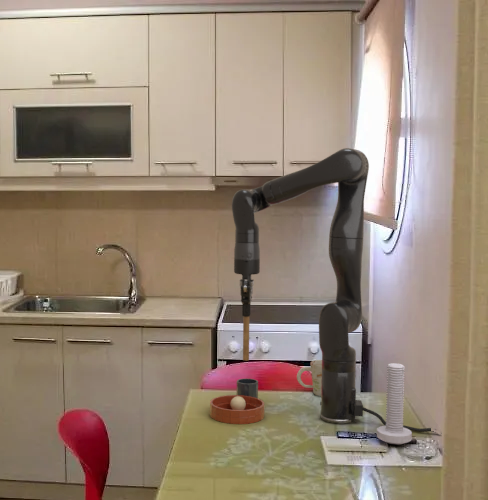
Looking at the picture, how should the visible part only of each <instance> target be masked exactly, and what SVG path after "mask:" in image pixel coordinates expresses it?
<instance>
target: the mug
mask: <svg viewBox="0 0 488 500" xmlns="http://www.w3.org/2000/svg"><path fill="white" fill-rule="evenodd" d="M304 372H310V373H311V382H312V384H305V383H304V382H303V380H302V374H303V373H304ZM296 380H297V382H298V384H299V385H301V387H303V388H306V389H312V392H313V395H315V396H317V397H321V385H322V359H315V360H312V361H310V366H302V367H301V368H300V369H299V370H298V371H297V373H296Z"/></svg>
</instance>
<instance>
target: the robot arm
mask: <svg viewBox="0 0 488 500" xmlns="http://www.w3.org/2000/svg"><path fill="white" fill-rule="evenodd" d="M369 168H370V164H369V159H368V157H367V156H366V154H365V153H364V152H363V151H361V150H359V149H357V148H356V149H355V148H352V147H344V148H341V149H339V150H337V151H336V152H334V153H332V154H330V155H328V156H327V157H325V158H324V159H321V160H320V161H318V162H316V163H313V164H311V165H309V166H307V167H305V168H302V169H299V170H297V171H293V172H291V173H288V174H285V175H282V176H279V177H277V178H273V179H271V180H268V181H266V182H265V183H263V185H261V186H258V187H255V188H251V189H240V190H237V191H236V192H235V193H234V194H233V196H232V201H231V212H232V218H233V224H234V227H235V231H234V249H233V251H234V252H233V261H234V263H233V265H234V266H233V272H234V274H236V275H241V278H240V279H239V287H240V288H239V289H240V293H239V294H240V296H241V297H240V298H241V299H240V302H241V304H242V308H241V309H242V310H241V311H242V312H241V315H242V317H243V316H244V317H249V318H250V316H251V309H252V307H251V305H252V304H251V303H252V302H253V301H252V299H253V294H254V283H255V280H254V279H252V275H258V274H260V272H261V270H260V265H261V264H260V263H261V248H260V226H259V224H258V223H257V222H256V220H255V219H256V217H255V214H256V213H260V212H261V211H264V210H266V209H268V208H270V207H272V206H274V205H279V204H281V203H284V202H287V201H290V200H293V199H295V198H298V197H300V196H302V195H304V194H306V193H308V192H311V191H312V190H314V189H316V188H319V187H323V186H326V185H331V184H336V183H337V203H336V206H335V209H334V213H333V216H332V220H331V224H330V228H329V237H328V257H329V261H330V265H331V267H332V269H333V272H334V276H335V279H336V295H335V297H336V298H335V301H333V302H328V303H325V304H324V305H323V306H322V307H321V309H320V312H319V316H318V345H319V348H320V351H321V360H322V385H321V396H320V402H319V403H320V404H319V405H320V419H321V420H322V421H324V422H327V423H330V424H340V425H343V424H351V423H352V424H353V423H356V417H363V416H364V412H366V413H367V414H371V415H373V416H374V417H376V418H377V419H379V421H380V422H381V423H382V424H383V426H387V425H386V421H387V420H386V419H384V418H383V417H382V416H381V415H380V414H379V413H378V412H376V411H374V410H371V409H369V408H366V407H364V404H363V401H362V400H360V399H357V388H356V371H357V370H356V365H357V361H356V359H357V351H356V349H355V348H354V347H352V346H350V341H349V334H350V333H353V332H355V331H356V330H358V329H359V327H360V326H361V323H362V320H363V319H362V318H363V306H362V305H363V304H362V267H363V265H362V264H363V251H364V233H365V231H364V230H365V229H364V228H365V227H364V226H365V206H364V205H365V194H366V188H367V182H368V176H369V171H370V170H369ZM402 425H403V427H404V428H407V429H409V430H410V431H411V432H417V433H427V432H428V433H429V432H431V433H432V432H433V433H435V432H434V431H431V428H432V427H425V428H420V427H419V428H418V427H413V426H409V425H406V424H405V425H404V424H402Z"/></svg>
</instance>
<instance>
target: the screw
mask: <svg viewBox="0 0 488 500" xmlns="http://www.w3.org/2000/svg"><path fill="white" fill-rule="evenodd" d="M386 369H387V372H386V376H387V377H386V378H387V379H386V402H385V403H386V404H385V408H386V409H385V410H386V411H385V413H386V414H385V415H386V416H385V421H386V425H387V426H386V425H381V426H378V427H377V428H376V438H377V439H379V440H381V441H383V442H385V443H387V444H389V445H396V446H397V445H398V446H399V445H403V444H407V443H410V442H411V441H412V439H413V436H412V435H413V431H411V430H409V429H407V428H404V427H403V425H404V407H405V405H404V404H405V403H404V400H405V398H404V397H405V393H404V392H405V370H406V368H405V365H404V364H401V363H398V362H397V363H396V362H395V363H394V362H391V363H388V364H387V367H386Z"/></svg>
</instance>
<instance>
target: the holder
mask: <svg viewBox="0 0 488 500" xmlns="http://www.w3.org/2000/svg"><path fill="white" fill-rule="evenodd" d="M236 395H245V396H251V397H255V398H258V399H259V380H258V379H255V378H238V379H236Z"/></svg>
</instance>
